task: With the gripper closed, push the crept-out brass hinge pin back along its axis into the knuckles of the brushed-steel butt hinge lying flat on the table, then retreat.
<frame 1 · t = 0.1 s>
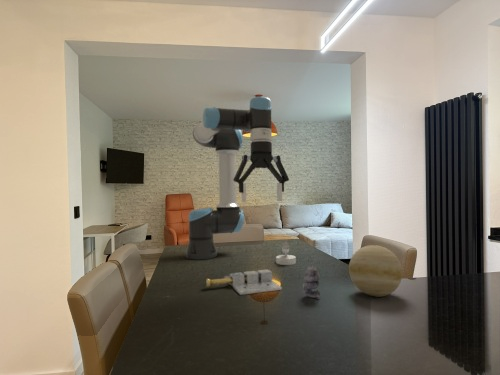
hand: (262, 201, 114), 28 cm above the table, fingers open, 13 cm apart
hinge leaves: (251, 283, 110), on the table
wall hook: (285, 263, 140), on the table
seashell: (311, 298, 95), on the table
decorative ball: (375, 295, 97), on the table
pin: (230, 280, 108), point 2 cm above the table, slide at 7.0 cm
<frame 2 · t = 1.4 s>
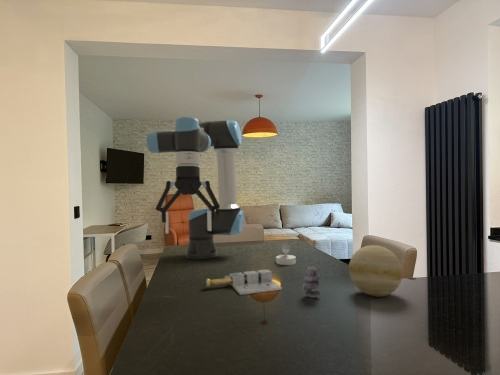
hand: (188, 231, 104), 19 cm above the table, fingers open, 13 cm apart
nothing on the table moved.
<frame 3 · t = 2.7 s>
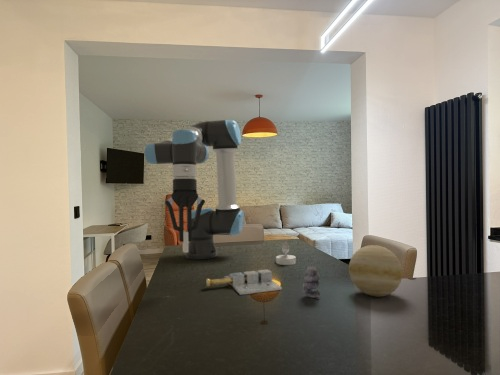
hand: (185, 251, 103), 13 cm above the table, fingers closed
nothing on the table moved.
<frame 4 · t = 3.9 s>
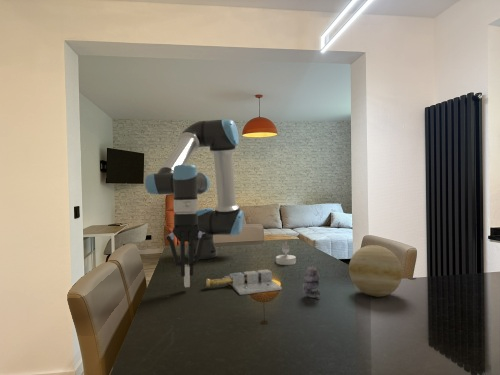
hand: (187, 285, 103), 2 cm above the table, fingers closed
nothing on the table moved.
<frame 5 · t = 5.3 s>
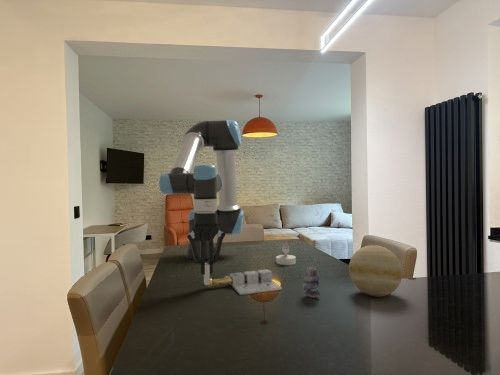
hand: (206, 283, 105), 2 cm above the table, fingers closed
pin: (232, 280, 108), point 2 cm above the table, slide at 6.3 cm, touching gripper
everything else where it was.
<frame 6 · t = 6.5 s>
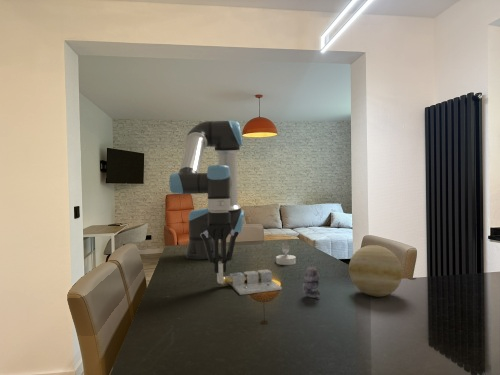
hand: (220, 282, 107), 2 cm above the table, fingers closed
pin: (244, 278, 110), point 2 cm above the table, slide at 1.8 cm, touching gripper
everything else where it was.
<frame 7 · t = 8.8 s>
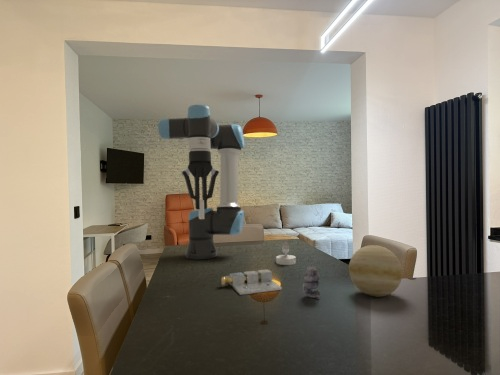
hand: (201, 218, 112), 23 cm above the table, fingers closed
pin: (244, 278, 110), point 2 cm above the table, slide at 1.8 cm
everything else where it was.
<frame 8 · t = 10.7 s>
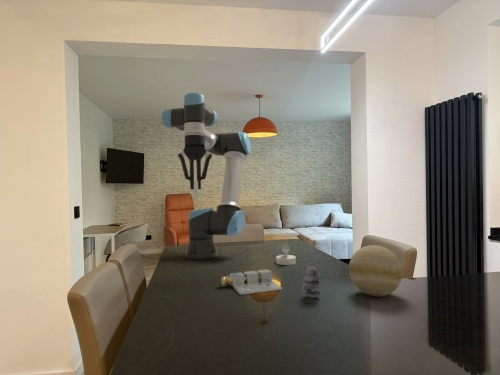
hand: (195, 198, 120), 29 cm above the table, fingers closed
nothing on the table moved.
at the end: pin slide at 1.8 cm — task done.
